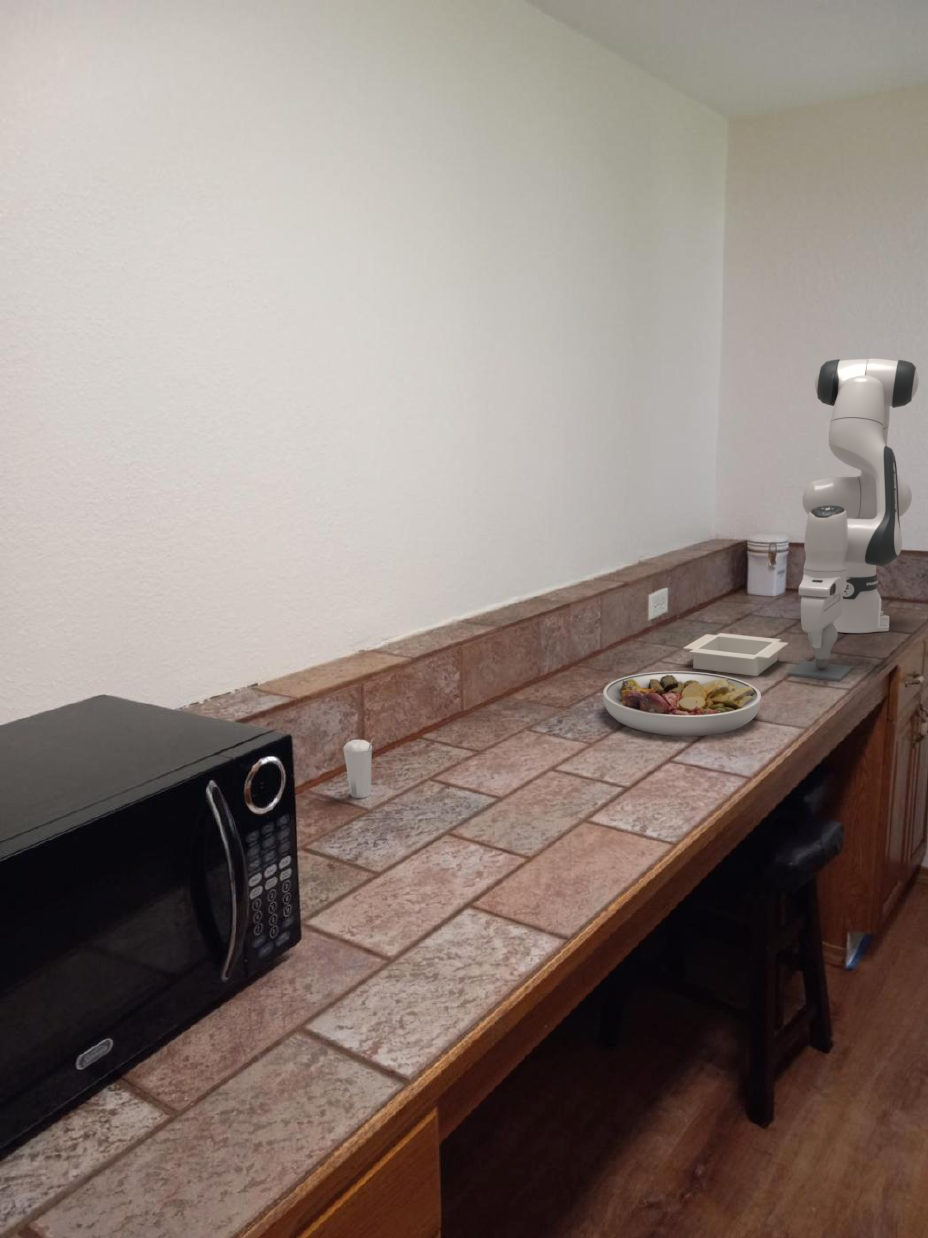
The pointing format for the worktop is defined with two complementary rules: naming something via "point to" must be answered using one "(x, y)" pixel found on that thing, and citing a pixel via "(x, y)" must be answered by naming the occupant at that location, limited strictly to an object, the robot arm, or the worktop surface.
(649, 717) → the bowl
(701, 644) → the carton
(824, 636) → the lightbulb
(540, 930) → the worktop surface
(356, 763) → the milkshake
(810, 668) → the mat
